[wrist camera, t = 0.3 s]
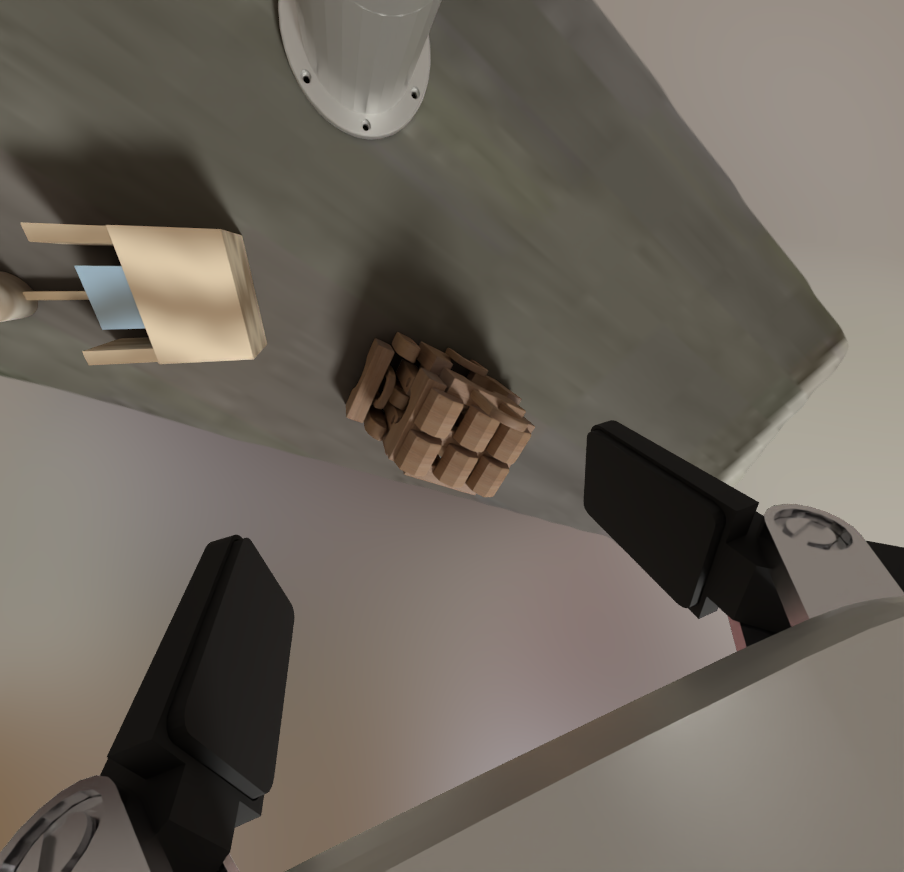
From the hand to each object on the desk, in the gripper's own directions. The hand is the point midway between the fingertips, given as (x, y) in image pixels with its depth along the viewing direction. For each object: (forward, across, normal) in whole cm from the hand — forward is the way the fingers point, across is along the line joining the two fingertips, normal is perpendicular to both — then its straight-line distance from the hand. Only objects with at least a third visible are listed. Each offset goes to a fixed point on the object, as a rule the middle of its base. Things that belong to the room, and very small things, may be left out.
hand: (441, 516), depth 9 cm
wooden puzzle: (+36, -7, +12) cm, 39 cm away
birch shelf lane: (+36, +17, -6) cm, 40 cm away
